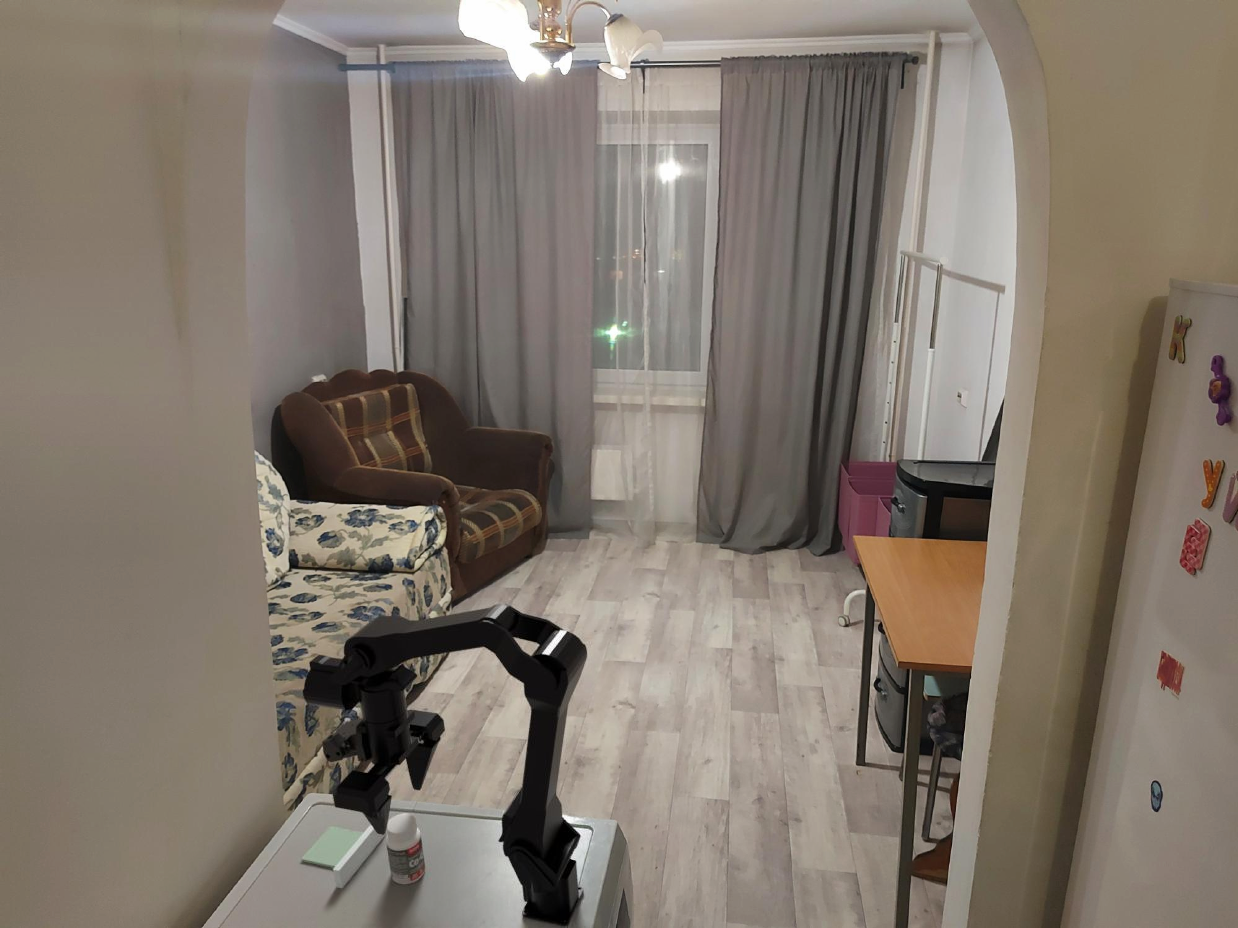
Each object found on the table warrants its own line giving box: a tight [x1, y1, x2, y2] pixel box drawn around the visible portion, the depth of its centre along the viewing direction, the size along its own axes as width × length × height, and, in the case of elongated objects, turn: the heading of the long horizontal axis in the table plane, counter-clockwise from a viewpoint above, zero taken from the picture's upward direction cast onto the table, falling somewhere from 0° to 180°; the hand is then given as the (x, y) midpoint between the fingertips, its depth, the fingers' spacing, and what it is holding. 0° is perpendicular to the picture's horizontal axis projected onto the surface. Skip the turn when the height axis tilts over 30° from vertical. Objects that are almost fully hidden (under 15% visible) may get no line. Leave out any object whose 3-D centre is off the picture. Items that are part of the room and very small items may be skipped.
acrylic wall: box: [332, 824, 387, 889], centre depth 123 cm, size 1×11×3 cm, turn 162°
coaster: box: [300, 825, 364, 869], centre depth 126 cm, size 7×7×1 cm
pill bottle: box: [385, 813, 426, 885], centre depth 119 cm, size 5×5×8 cm
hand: (400, 810), depth 117 cm, fingers open, 9 cm apart
